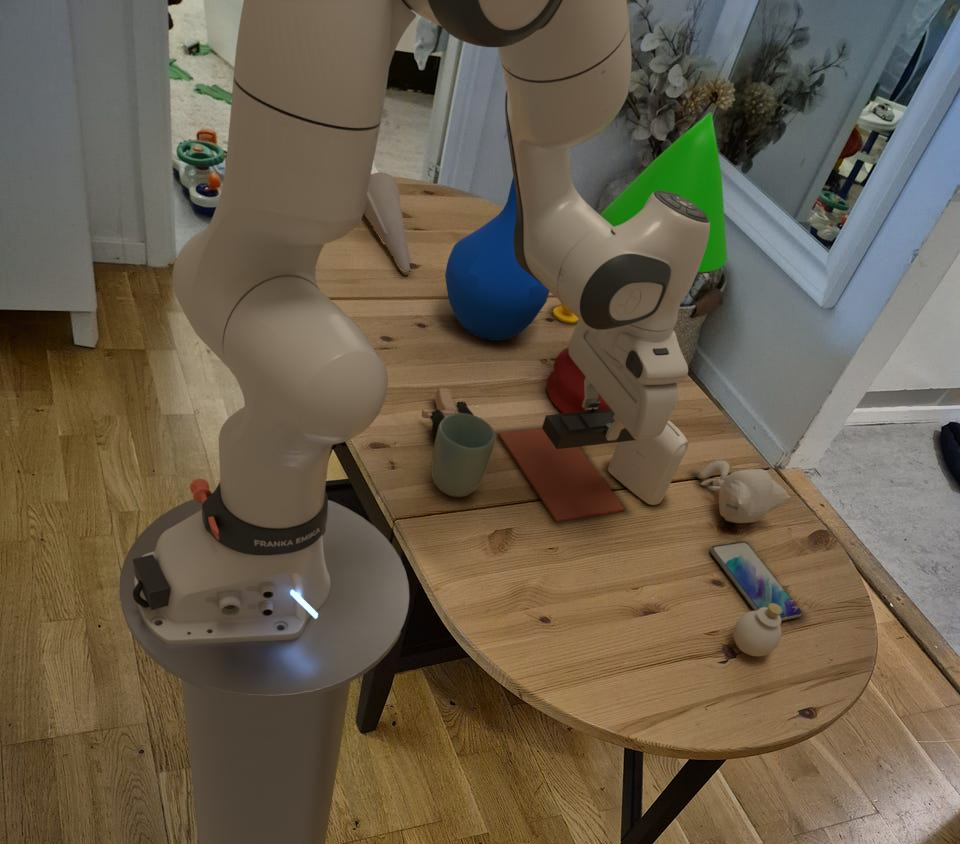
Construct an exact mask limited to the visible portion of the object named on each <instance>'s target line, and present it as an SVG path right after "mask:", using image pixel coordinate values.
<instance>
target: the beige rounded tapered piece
mask: <svg viewBox="0 0 960 844" xmlns="http://www.w3.org/2000/svg"><path fill="white" fill-rule="evenodd" d="M730 470H731V466H730V463H729V462H727V461H725V460H714V461H712V462H710V463H708V464H707V465H706V466H705V467H704V468H703V469H702V470H701V471H700V472H699V473H698V474H697V475H695V478H697V479H699V480H703V481H701V482H700V485H701V486H707V485H709V484H711V483H712V485H711V486H709V487H708V488H709V490H710V491H712V492H713V491H714V492H718V510H719V515H720V516H721V518H724V520H725V521H726V522H729V523H736V524H747V523H754V522H755V523H756V522H759V521H761V520H762V519H764V518H765V517H766V516H767V515H768V513H770V512H772V511H775V510H776V509H778V508H780V507H782V506H783V505H784V504H785V503H786V502H788V501H789V500H790V499H791V495H789V494H788V492H787V491H786V489H784V487H783V486H782V485H780V484H779V483H778V482H776V481H775V480H773V478H772V477H771V475H770V474H769V472H768V471H767V470H765V469H763V468H749V469H742V470H735V471H732V472H731V473H730V474H729V472H730ZM716 474H720V477H718V478H716V479H715V478H714V477H713V478H710V477H712V476H715V475H716Z"/></svg>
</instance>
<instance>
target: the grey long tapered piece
mask: <svg viewBox="0 0 960 844" xmlns="http://www.w3.org/2000/svg"><path fill="white" fill-rule="evenodd" d="M401 205H402V203H401V198H400V191H399V185H398V182H397V180H396V179H395V177H394V176H392V175H391V174H389V173H386V172H379V171H378V172H374V173H371V176H370V181H369V187H368V192H367V197H366V202H365V208H364V213H363V215H364V214H365V215H364V216H365V218H366V217H367V218H366V220H367V219H368V220H369V221H368V220H367V221H368V223H369V222H370V223H371V224H370V223H369V224H370V226H371V225H372V226H373V228H374V229H375V230H376V232H377V233H378V235H379V236H380V238H381V239H382V241H383V242H384V243H385V244H386V245H385V244H384V246H385V247H386V246H387V247H388V249H389V250H388V249H387V250H388V252H389V251H390V252H391V253H390V252H389V254H390V255H391V254H392V255H393V257H394V258H393V257H392V259H393V261H394V263H395V264H396V266H397V268H398V269H399V271H400V272H401V273H402V274H403V275H404V276H408V275H409V274H410V273H411V263H410V256H409V250H408V249H409V247H408V242H407V235H406V230H405V225H404V224H405V223H404V217H403V211H402V210H403V209H402V206H401ZM372 226H371V227H372ZM373 228H372V229H373ZM374 229H373V230H374ZM387 247H386V248H387ZM392 255H391V256H392ZM394 259H395V260H396V261H395V260H394ZM396 262H397V263H396ZM397 264H398V265H399V266H398V265H397ZM399 267H400V268H401V269H402V270H404V271H406V272H404V271H402V270H401V269H400V268H399ZM409 271H410V272H409Z"/></svg>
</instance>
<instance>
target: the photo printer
mask: <svg viewBox="0 0 960 844" xmlns="http://www.w3.org/2000/svg"><path fill="white" fill-rule="evenodd" d="M688 448H689V441H688V440H687V438H686V436H685V435H684V433H682V431H681V430H680V429H679V428H678V427H677V426H676V424H674V423H673V422H672V421H671V420H670V419H669V420H668V422H667V424H666V426H665V428H664V430H663V432H662V433H661V434H660V435H659V436H657V437H655V438H651V439H642V440H633V441H624V442H617V444H616V447H615V449H614V452H613V454H612V457H611V459H610V462H609V464H608V468H607V472H608V473H609V474H610V475H611V476H612V477H614V478H615V479H616V480H617V481H618V482H619V483H621V484H622V485H623V486H624V487H625V488H626V489H628V490H629V491H630V492H632V493H633V494H634V495H635V496H636V497H638V498H639V499H640V500H642V501H643V502H644V503H646V504H648V505H650V506H656V505H659V504H661V503H662V501H663V499H664V498H665V495H666V494H667V492H668V490H669V488H670V486H671V483H672V481H673V479H674V477H675V475H676V473H677V471H678V469H679V467H680V465H681V463H682V461H683V459H684V456H685V455H686V452H687V450H688Z"/></svg>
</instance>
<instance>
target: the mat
mask: <svg viewBox="0 0 960 844" xmlns="http://www.w3.org/2000/svg"><path fill="white" fill-rule="evenodd" d="M498 437H499V439H500V440H501V442H502V444H503V445H504V447H505V448H506V450H507V451H508V453H509V454H510V455H511V457H512V458H513V460H514V462H515V463H516V464H517V466H518V468H519V469H520V470H521V472H522V474H523V476H524V477H525V478H526V479H527V481H528V482H529V484H530V485H531V487H532V489H533V490H534V491H535V493H536V494H537V496H538V497H539V499H540V501H541V502H542V503H543V506H544V507H545V508H546V509H547V511H548V513H549V514H550V515H551V517H552V518H553V520H554V522H555V523H559V522H565V521H572V520H579V519H584V518H589V517H595V516H596V517H597V516H604V515H608V514H616V513H622V512H625V510H626V508H625V507H624V506H623V505H622V503H621V501H620V500H619V499H618V497H617V496H616V495H615V494H614V492H613V491H612V490H611V488H610V487H609V486H608V484H607V482H606V481H605V480H604V478H603V477H602V476H601V474H600V473H599V472H598V470H597V469H596V468H595V466H594V465H593V463H591V461H590V460H589V458H588V457H587V456H586V455H585V452H584V451H583V450H582V449H581V447H573V448H564V449H556V448H555V446H554V445H553V443H552V442H551V441H550V439H549V438H548V436H547V435H546V433H545V432H544V430H543V429H542V428H532V429H525V430H516V431H515V430H514V431H506V432H499V433H498Z"/></svg>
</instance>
